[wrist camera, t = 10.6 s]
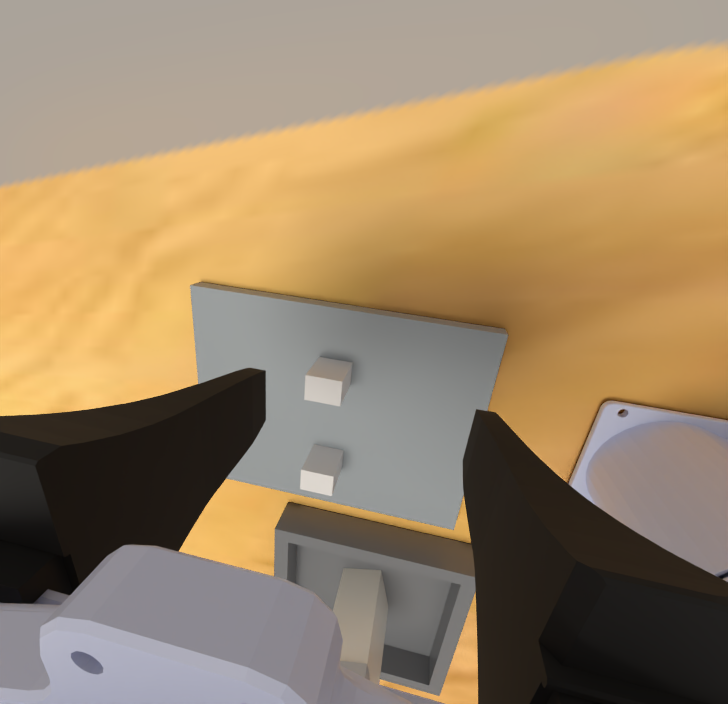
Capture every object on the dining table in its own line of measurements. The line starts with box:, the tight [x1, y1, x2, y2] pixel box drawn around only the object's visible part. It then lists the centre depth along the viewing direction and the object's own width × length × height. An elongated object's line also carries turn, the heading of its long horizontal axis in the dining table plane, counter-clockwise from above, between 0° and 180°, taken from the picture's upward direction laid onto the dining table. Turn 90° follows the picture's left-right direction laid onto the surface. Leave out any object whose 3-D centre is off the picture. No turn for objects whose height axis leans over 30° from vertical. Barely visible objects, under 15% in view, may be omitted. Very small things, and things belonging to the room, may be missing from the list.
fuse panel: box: [190, 282, 508, 530], centre depth 22 cm, size 18×14×4 cm
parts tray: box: [274, 502, 476, 696], centre depth 28 cm, size 14×14×2 cm
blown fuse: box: [333, 568, 388, 684], centre depth 25 cm, size 3×4×7 cm
